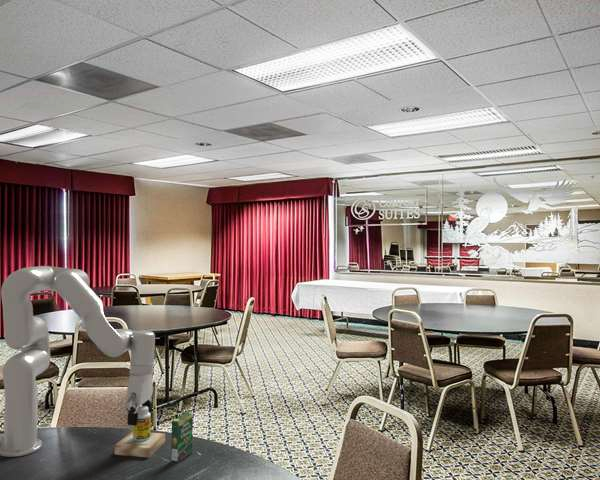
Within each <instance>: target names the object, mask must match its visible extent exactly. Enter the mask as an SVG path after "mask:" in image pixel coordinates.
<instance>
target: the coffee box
mask: <svg viewBox="0 0 600 480" xmlns="http://www.w3.org/2000/svg"><path fill="white" fill-rule="evenodd" d="M193 418H194V416H193V413H190V412H185V413H183V414H181V415H179V416H178V417H177V418H175V419H173V420H171V449H170V450H171V454H170V455H171V456H170V457H171V458H170V460H171V462H174V463H177V464H178V463H179V462H181V461H182V460H184V459H185V458H187V457H189V456H190V455H192V454H193V430H194V429H193V424H194V423H193V422H194V421H193V420H194V419H193Z"/></svg>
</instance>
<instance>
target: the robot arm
mask: <svg viewBox="0 0 600 480" xmlns="http://www.w3.org/2000/svg"><path fill="white" fill-rule="evenodd" d="M90 282H91V281H90V278H89V275H88V273H86V272H85V271H84V270H82V269H78V268H69V267H66V268H65V267H59V266H52V265H51V266H50V265H39V266H28V267H23V268H20V269H17V270H16V271H14V272H12V273H11V274H9V275H8V276H7V277H6V278H5V280H4V281H3V282H2V285H1V290H0V293H1V294H0V295H1V297H0V298H1V302H2V303H1V304H2V319H3V331H4V341H5V344H6V346H8V348H9V349H12V350H20V352H17V353H16V354H14V355H12V356H11V357H9V358H8V359H7V360H6V362H5V363H4V364H3V367H2V371H1V372H2V380H3V386H4V420H3V422H4V423H3V425H4V426H3V433H0V456H1V457H8V458H13V457H15V458H17V457H22V456H27V455H29V454H33V453H35V452H37V451H38V450H40V449H41V448H42V447H43V441H42V440H41V439H39V438H38V414H39V408H38V407H39V389H38V384H37V381H36V377H37V376H39V375H40V374H43V372H45V371H46V370H47V369H48V367H49V365H50V362H51V345H50V333H49V328H48V325H47V323H46V322H45V320H43V318H41V317H39V316H36V315H35V316H34V307H33V303H32V301H31V298H30V295H31V294H33V293H37V292H38V293H39V292H43V291H51V292H56V293H57V294H58V295H59V296H60V298H62V299H63V301H64V303H66V305H68V306H69V307H70V308H71V309H72V310H73V311H74V313H75V314H76V315H77V316H78V318H79V319H80V320H81V323H82V326H83V327H84V331H85V332H86V335H88V337H89V339H90V340H91V341H92V342H93V343H94V344H95V346H96V347H97V348H98V349H99V350H100V351H101V352H102V353H103V354H105V355H106V356H108V357H112V358H116V357H120V356H121V355H123V353H125V352H127V351H130V360H129V361H130V362H129V363H130V364H129V378H128V381H127V390H126V397H125V398H126V399H125V400H126V402H125V405H126V412H127V420H126V421H127V425H128V426H133V425H134V426H136V425H137V421H138V413H137V410H138V407H140V406H147V407H148V410H149V411H148V412H149V413H150V414H152V402H153V399H152V398H153V396H154V395H153V394H154V393H153V392H154V389H155V388H154V384H153V381H154V380H153V379H154V378H153V374H154V369H155V368H154V366H155V347H156V345H155V344H156V334H155V333H154V331H151V330H134V329H133V330H132V329H128V328H119V329H117V330H115V329H114V327H113V326H111V324H110V322H108V320H107V318H106V316H105V313H104V302H103V300H102V299H101V298H100V297H99V295H97V293H95V292H94V290H93V289H92V288H91V287H90Z"/></svg>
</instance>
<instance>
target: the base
mask: <svg viewBox="0 0 600 480" xmlns="http://www.w3.org/2000/svg"><path fill="white" fill-rule="evenodd" d="M165 443H166V433H164V432H163V433H160V432H151V431H150V438H149V439H147V440H144V441H135V440H134V439H133V430H132V431H131V432H129V433H128V434H127V435H126V436H125V437H123V438H122V439H121V440H119V441H118V442H117V443H116V444H115V445H114V455H116V456H117V455H118V456H128V457H129V456H130V457H138V458H139V457H140V458H151V457H152V456H153V455H154V454H156V452H157V451H158V450H159V449H160V448H161V447H162V446H163V445H164V444H165Z"/></svg>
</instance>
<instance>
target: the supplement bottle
mask: <svg viewBox="0 0 600 480" xmlns="http://www.w3.org/2000/svg"><path fill="white" fill-rule="evenodd" d="M148 411H149V410H148V407H147V406H142V405H140V406H139V407H138V410H137V413H138V421H137V425H136V426H134V425H132V431H133V439H134V440H135V441H144V440H147V439H149V438H150V432H151V419H152V418H151V416H152V415H151V414H152V413H151V414H150V413H149V412H148Z"/></svg>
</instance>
